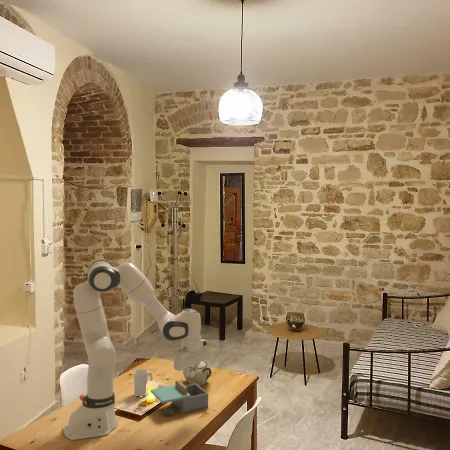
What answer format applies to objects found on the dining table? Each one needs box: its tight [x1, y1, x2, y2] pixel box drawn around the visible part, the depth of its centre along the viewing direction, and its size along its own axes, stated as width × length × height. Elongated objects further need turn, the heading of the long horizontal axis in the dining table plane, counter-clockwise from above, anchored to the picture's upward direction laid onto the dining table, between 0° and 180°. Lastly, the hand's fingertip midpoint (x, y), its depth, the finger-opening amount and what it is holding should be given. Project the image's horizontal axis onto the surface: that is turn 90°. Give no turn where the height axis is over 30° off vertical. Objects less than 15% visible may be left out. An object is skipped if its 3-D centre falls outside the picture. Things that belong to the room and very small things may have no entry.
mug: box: [133, 368, 154, 397], centre depth 242 cm, size 10×7×12 cm, turn 130°
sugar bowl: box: [182, 360, 212, 387], centre depth 257 cm, size 20×15×15 cm
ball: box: [164, 406, 174, 417], centre depth 220 cm, size 4×4×4 cm
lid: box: [150, 379, 191, 404], centre depth 225 cm, size 14×14×4 cm
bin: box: [171, 384, 209, 415], centre depth 231 cm, size 13×13×7 cm
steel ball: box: [188, 369, 195, 378], centre depth 219 cm, size 4×4×4 cm
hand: (190, 374), depth 219 cm, fingers closed on steel ball, 4 cm apart
